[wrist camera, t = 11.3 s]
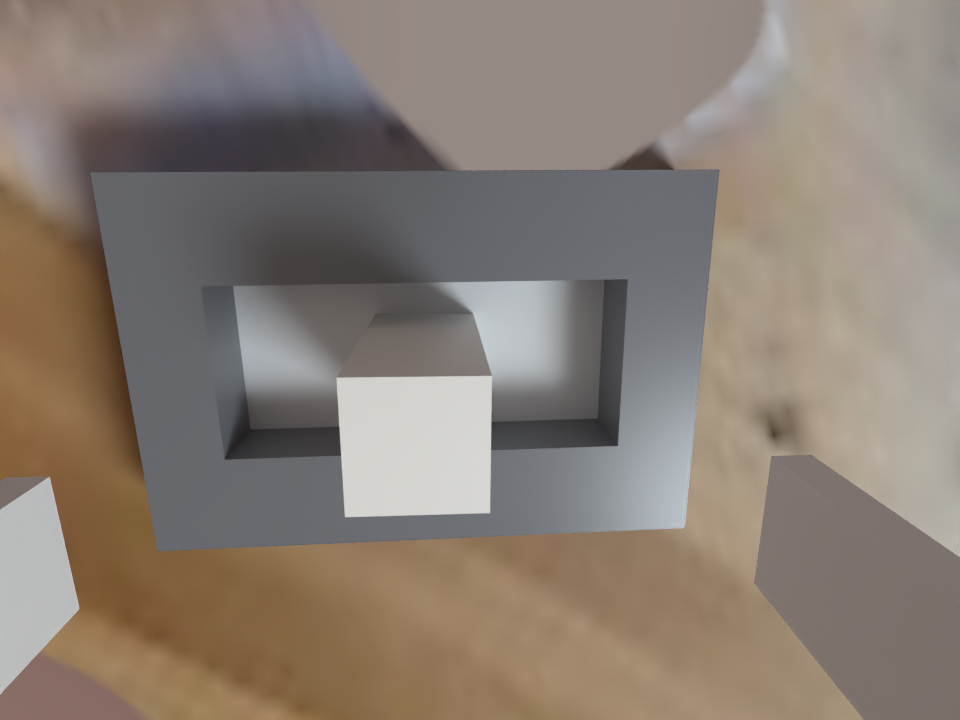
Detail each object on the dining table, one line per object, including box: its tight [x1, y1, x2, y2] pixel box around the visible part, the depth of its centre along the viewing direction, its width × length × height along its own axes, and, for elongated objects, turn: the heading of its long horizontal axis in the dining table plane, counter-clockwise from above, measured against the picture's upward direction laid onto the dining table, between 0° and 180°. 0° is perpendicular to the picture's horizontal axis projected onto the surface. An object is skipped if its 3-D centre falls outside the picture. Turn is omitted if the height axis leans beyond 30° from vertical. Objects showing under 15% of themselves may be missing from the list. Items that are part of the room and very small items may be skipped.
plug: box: [336, 314, 492, 517], centre depth 20 cm, size 4×4×9 cm
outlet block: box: [90, 170, 719, 551], centre depth 23 cm, size 21×14×4 cm, turn 90°
